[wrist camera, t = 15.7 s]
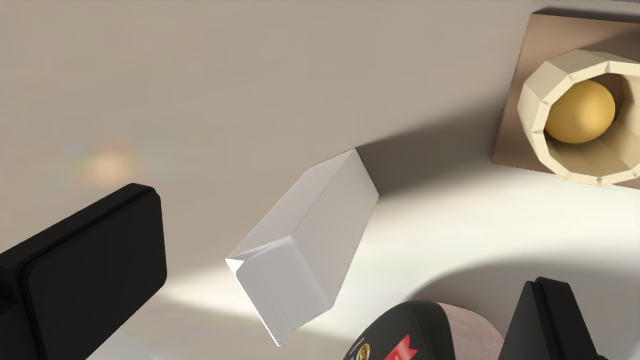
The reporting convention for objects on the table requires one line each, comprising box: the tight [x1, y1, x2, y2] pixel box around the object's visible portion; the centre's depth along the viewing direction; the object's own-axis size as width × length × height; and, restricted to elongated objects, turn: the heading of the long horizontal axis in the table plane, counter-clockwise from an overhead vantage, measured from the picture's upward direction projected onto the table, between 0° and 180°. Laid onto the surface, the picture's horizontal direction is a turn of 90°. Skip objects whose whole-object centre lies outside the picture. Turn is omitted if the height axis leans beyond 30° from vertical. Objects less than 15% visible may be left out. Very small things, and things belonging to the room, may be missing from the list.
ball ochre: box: [544, 80, 615, 144], centre depth 32 cm, size 5×5×5 cm
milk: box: [225, 148, 379, 347], centre depth 35 cm, size 6×6×22 cm
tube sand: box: [517, 49, 640, 187], centre depth 31 cm, size 8×8×8 cm
